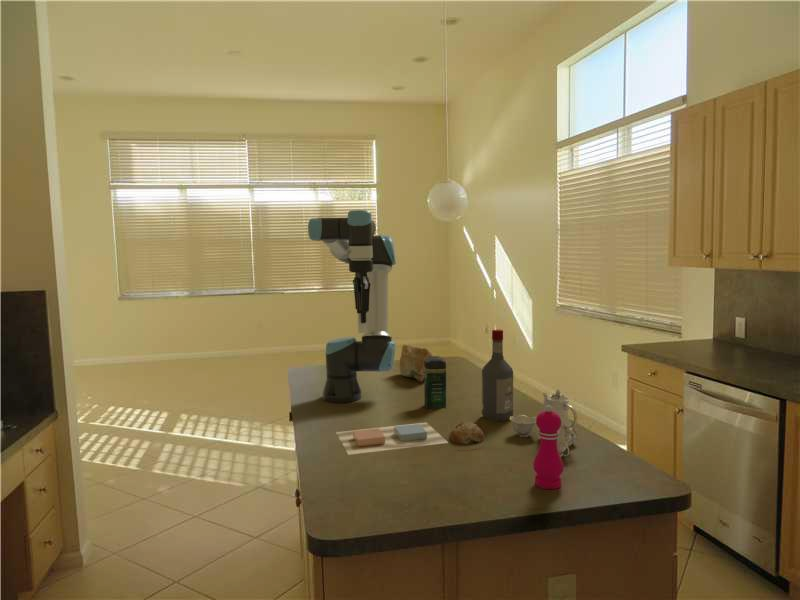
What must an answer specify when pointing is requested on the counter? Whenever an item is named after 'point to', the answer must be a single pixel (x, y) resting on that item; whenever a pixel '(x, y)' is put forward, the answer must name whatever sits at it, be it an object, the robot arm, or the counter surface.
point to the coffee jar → (435, 382)
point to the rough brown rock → (413, 361)
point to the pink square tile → (368, 437)
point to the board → (389, 440)
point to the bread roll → (466, 433)
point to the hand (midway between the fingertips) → (362, 332)
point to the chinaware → (560, 406)
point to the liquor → (497, 383)
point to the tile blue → (410, 432)
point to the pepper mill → (548, 450)
